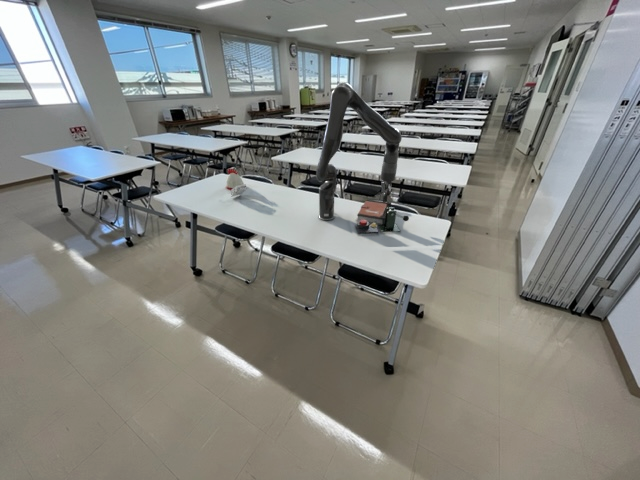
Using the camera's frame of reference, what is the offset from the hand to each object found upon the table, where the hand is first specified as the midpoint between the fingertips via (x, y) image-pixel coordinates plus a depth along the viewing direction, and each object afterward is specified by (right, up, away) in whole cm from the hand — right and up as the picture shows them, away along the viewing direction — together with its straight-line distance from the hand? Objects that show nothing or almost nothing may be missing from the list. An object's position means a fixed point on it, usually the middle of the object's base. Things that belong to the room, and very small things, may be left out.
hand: (384, 201), depth 147 cm
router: (-109, +7, +46) cm, 118 cm away
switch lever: (+8, -9, +4) cm, 13 cm away
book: (-1, -5, +25) cm, 25 cm away
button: (-11, -12, +6) cm, 17 cm away
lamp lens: (-6, -14, +2) cm, 15 cm away
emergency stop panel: (-9, -16, +6) cm, 19 cm away
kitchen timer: (-106, +22, +72) cm, 130 cm away
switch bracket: (+4, -15, +8) cm, 18 cm away
